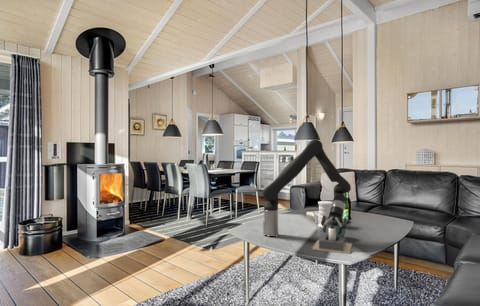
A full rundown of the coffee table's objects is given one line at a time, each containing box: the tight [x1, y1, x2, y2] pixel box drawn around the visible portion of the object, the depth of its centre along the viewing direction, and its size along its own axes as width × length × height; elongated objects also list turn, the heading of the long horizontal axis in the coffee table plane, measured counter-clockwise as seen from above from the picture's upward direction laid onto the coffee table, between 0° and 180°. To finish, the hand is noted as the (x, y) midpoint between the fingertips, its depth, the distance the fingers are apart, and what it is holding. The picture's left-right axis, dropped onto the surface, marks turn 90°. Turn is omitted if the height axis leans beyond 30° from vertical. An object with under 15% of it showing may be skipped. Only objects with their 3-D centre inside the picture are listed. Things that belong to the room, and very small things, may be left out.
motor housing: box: [311, 234, 353, 255], centre depth 172 cm, size 20×16×5 cm
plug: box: [327, 220, 336, 241], centre depth 173 cm, size 4×4×15 cm
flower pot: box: [326, 223, 347, 237], centre depth 191 cm, size 9×9×9 cm
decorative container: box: [317, 200, 333, 229], centre depth 222 cm, size 12×12×18 cm
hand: (331, 232), depth 171 cm, fingers open, 8 cm apart
